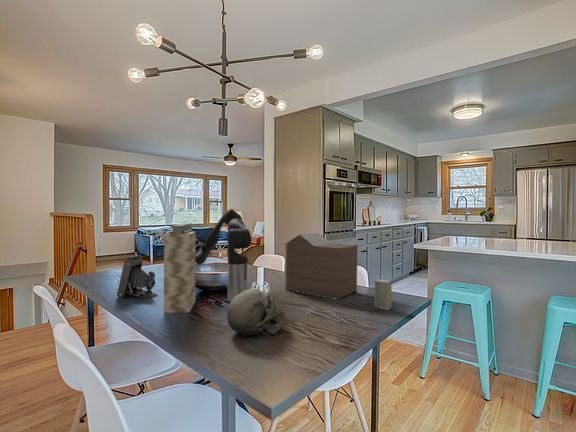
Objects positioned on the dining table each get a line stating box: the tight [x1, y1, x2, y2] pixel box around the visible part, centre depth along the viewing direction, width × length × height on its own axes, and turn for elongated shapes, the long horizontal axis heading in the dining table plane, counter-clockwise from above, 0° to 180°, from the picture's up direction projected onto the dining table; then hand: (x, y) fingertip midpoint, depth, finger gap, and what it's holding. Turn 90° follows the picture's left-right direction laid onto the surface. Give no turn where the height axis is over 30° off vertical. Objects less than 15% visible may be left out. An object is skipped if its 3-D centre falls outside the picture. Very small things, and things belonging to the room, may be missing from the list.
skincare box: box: [373, 278, 393, 309], centre depth 139 cm, size 6×4×12 cm
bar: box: [172, 222, 193, 234], centre depth 141 cm, size 4×26×4 cm, turn 8°
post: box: [163, 228, 197, 314], centre depth 137 cm, size 10×16×33 cm, turn 8°
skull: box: [226, 287, 288, 337], centre depth 109 cm, size 13×16×20 cm
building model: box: [283, 232, 358, 300], centre depth 168 cm, size 19×34×30 cm, turn 54°
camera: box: [116, 254, 159, 301], centre depth 153 cm, size 11×17×20 cm, turn 79°
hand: (190, 237), depth 163 cm, fingers open, 8 cm apart
